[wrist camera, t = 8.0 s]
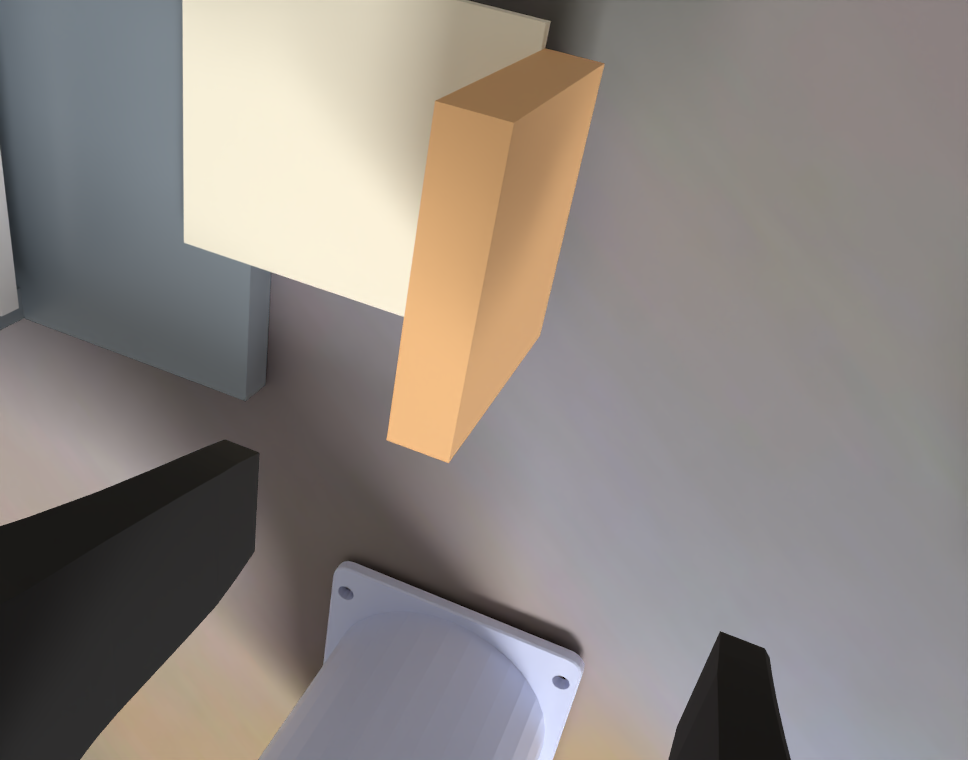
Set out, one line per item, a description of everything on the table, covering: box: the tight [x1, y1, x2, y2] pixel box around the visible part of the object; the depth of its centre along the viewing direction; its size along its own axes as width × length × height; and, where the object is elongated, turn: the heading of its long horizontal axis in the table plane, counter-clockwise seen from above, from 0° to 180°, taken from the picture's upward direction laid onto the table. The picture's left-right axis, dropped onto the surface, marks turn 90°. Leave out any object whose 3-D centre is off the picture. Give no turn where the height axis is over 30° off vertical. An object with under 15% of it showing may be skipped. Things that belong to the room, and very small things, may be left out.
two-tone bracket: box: [182, 0, 605, 463], centre depth 17 cm, size 9×7×6 cm
